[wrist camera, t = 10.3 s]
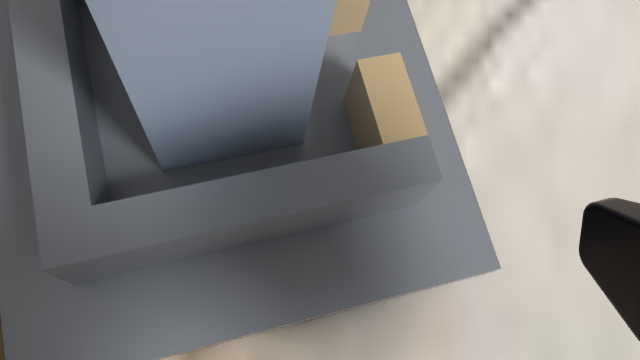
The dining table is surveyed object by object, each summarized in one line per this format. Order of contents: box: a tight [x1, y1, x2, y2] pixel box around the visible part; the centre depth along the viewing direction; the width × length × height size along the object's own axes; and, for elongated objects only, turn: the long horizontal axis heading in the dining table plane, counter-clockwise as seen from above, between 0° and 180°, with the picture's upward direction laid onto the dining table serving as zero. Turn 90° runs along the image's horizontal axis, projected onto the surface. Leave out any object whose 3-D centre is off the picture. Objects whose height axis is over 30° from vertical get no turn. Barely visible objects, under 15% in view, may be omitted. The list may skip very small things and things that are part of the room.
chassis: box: [0, 0, 501, 360], centre depth 16 cm, size 14×13×3 cm
